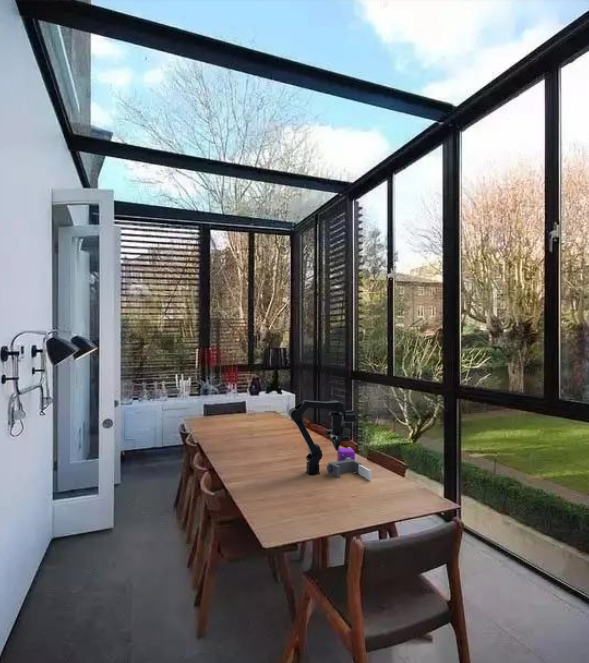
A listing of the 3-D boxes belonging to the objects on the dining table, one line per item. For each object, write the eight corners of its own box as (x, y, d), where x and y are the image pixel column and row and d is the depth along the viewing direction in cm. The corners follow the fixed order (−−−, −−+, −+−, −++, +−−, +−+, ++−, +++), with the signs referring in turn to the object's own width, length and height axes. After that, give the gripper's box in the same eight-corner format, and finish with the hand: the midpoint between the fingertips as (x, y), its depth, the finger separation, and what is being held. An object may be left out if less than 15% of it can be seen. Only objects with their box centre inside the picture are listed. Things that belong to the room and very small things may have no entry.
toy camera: (342, 470, 246) (342, 452, 246) (334, 463, 259) (334, 446, 259) (359, 468, 249) (359, 451, 249) (350, 462, 262) (350, 445, 262)
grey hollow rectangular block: (335, 478, 231) (335, 467, 231) (326, 473, 239) (326, 462, 239) (361, 473, 239) (361, 463, 239) (352, 469, 247) (352, 459, 247)
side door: (371, 479, 228) (371, 470, 228) (369, 480, 227) (369, 470, 227) (360, 473, 238) (360, 464, 238) (358, 473, 238) (358, 464, 238)
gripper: (357, 425, 239) (357, 452, 238) (340, 419, 255) (340, 445, 255) (341, 426, 234) (340, 455, 234) (324, 420, 251) (323, 447, 250)
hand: (336, 450), depth 243 cm, fingers closed
